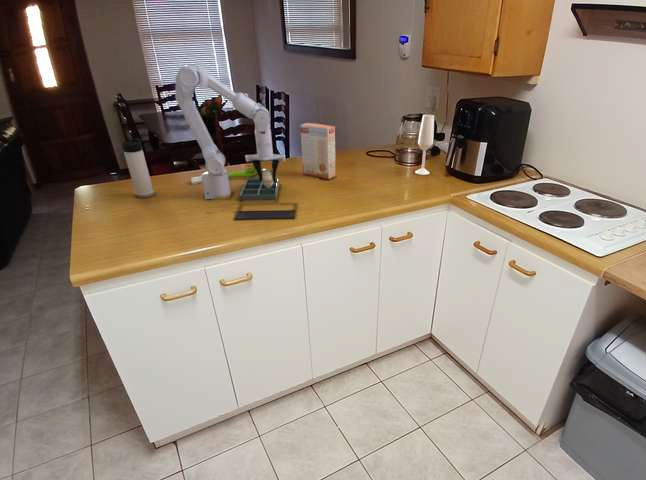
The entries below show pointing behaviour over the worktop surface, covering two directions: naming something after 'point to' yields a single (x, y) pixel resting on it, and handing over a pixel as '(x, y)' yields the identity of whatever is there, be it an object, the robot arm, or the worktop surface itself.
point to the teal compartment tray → (259, 190)
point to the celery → (231, 175)
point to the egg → (267, 177)
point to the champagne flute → (426, 139)
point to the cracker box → (318, 150)
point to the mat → (265, 215)
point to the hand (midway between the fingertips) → (267, 180)
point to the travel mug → (138, 168)
